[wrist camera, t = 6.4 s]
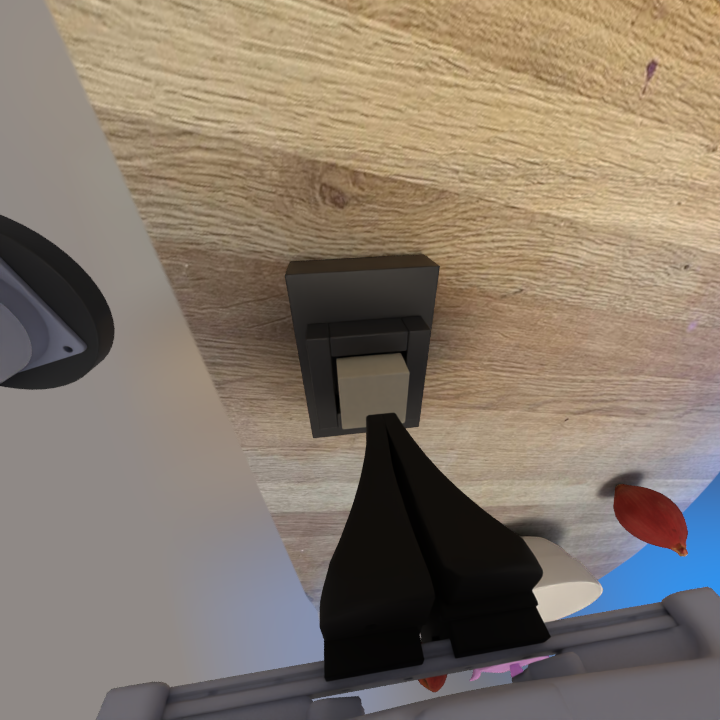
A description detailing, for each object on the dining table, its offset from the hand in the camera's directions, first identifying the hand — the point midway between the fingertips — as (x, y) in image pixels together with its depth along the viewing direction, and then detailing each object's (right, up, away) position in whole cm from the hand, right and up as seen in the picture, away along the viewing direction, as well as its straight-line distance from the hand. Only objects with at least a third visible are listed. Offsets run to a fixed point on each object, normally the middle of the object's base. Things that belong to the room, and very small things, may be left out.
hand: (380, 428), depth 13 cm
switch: (0, +2, +3) cm, 4 cm away
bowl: (+21, -26, +29) cm, 44 cm away
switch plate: (-1, +4, +7) cm, 8 cm away
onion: (+32, -13, +23) cm, 41 cm away
